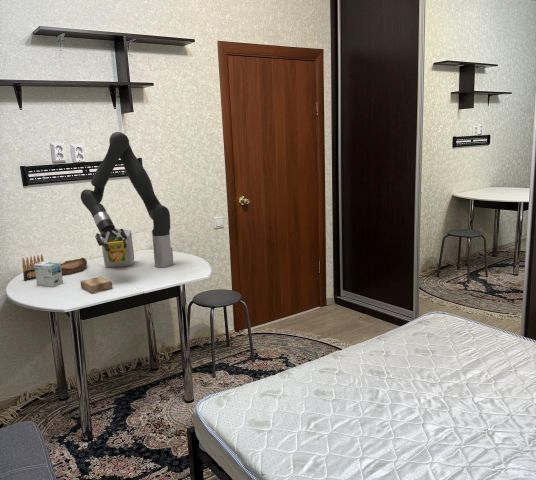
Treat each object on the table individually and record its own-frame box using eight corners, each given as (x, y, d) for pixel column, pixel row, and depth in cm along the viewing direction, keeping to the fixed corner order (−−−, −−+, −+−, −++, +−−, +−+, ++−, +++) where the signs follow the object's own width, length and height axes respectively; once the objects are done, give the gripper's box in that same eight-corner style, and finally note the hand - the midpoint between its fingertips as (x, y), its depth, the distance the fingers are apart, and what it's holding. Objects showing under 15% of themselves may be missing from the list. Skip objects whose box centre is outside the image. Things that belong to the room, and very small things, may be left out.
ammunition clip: (45, 275, 259) (42, 253, 256) (46, 276, 257) (43, 254, 255) (23, 280, 252) (20, 257, 249) (24, 281, 251) (21, 258, 248)
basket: (71, 263, 283) (70, 254, 282) (96, 267, 274) (95, 258, 272) (36, 274, 263) (35, 265, 262) (63, 278, 254) (62, 269, 253)
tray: (101, 283, 243) (100, 276, 242) (112, 288, 235) (111, 281, 234) (81, 288, 237) (80, 280, 236) (92, 293, 228) (91, 286, 227)
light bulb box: (63, 283, 246) (61, 261, 243) (53, 287, 239) (51, 265, 237) (46, 281, 249) (43, 260, 247) (36, 285, 243) (33, 264, 240)
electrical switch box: (103, 273, 267) (98, 239, 259) (108, 262, 281) (103, 229, 273) (131, 272, 269) (127, 237, 261) (134, 261, 282) (130, 227, 275)
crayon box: (109, 263, 239) (107, 239, 237) (109, 261, 242) (106, 238, 239) (125, 260, 242) (123, 237, 239) (124, 259, 245) (122, 236, 242)
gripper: (91, 220, 238) (105, 247, 232) (119, 215, 247) (133, 241, 242) (88, 230, 243) (101, 256, 238) (115, 225, 252) (128, 250, 247)
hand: (117, 249), depth 240 cm, fingers closed on crayon box, 8 cm apart
